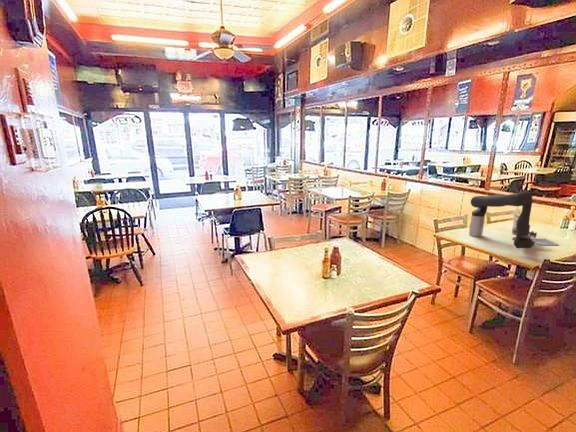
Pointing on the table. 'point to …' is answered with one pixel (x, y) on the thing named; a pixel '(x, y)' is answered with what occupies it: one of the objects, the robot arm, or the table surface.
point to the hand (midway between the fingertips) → (525, 231)
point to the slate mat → (544, 242)
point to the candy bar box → (515, 222)
